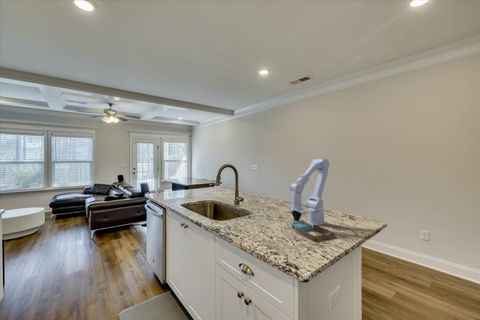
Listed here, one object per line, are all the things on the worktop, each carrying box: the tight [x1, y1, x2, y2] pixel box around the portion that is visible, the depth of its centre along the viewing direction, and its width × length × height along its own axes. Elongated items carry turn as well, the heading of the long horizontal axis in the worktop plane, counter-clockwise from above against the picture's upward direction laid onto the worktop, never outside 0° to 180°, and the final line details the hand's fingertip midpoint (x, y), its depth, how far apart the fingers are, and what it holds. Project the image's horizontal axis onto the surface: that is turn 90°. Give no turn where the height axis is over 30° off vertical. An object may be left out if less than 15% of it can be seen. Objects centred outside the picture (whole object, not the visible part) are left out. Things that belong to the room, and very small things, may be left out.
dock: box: [294, 225, 336, 242], centre depth 118 cm, size 15×15×2 cm
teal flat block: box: [291, 219, 313, 232], centre depth 128 cm, size 10×8×4 cm
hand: (296, 222), depth 132 cm, fingers closed
